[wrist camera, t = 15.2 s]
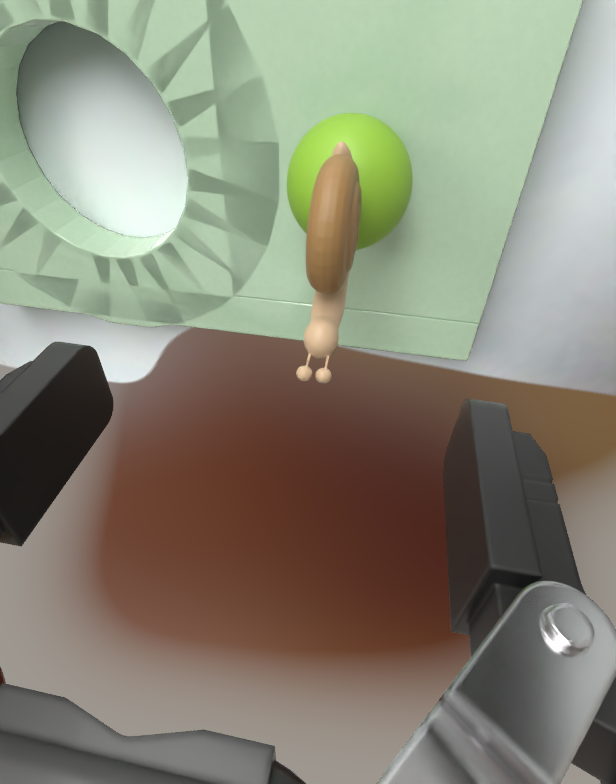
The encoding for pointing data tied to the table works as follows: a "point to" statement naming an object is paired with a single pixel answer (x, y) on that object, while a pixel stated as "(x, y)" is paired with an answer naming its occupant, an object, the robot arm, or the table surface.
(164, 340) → the table surface
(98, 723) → the robot arm
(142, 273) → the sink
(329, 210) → the snail figurine
